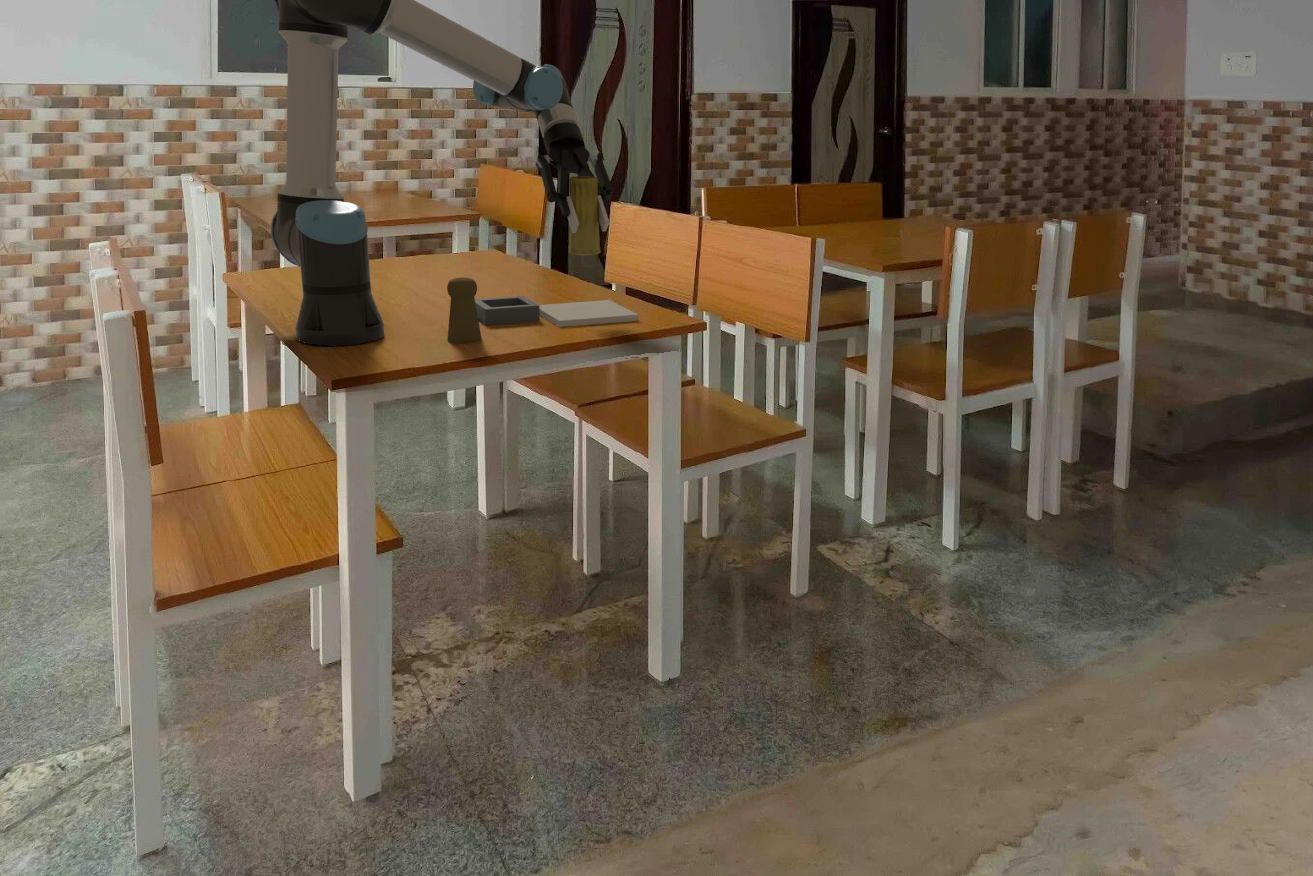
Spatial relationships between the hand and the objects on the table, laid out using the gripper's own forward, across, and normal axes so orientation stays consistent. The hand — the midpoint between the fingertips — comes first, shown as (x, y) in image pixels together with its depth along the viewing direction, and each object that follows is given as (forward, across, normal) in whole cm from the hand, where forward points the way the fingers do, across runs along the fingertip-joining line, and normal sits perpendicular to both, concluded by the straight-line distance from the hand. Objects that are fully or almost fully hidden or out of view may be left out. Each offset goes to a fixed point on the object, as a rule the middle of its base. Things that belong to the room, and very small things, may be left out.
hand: (590, 227), depth 209 cm
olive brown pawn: (+18, +27, -7) cm, 33 cm away
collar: (+7, +15, -18) cm, 24 cm away
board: (+10, 0, -15) cm, 18 cm away
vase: (+1, 0, -6) cm, 7 cm away
